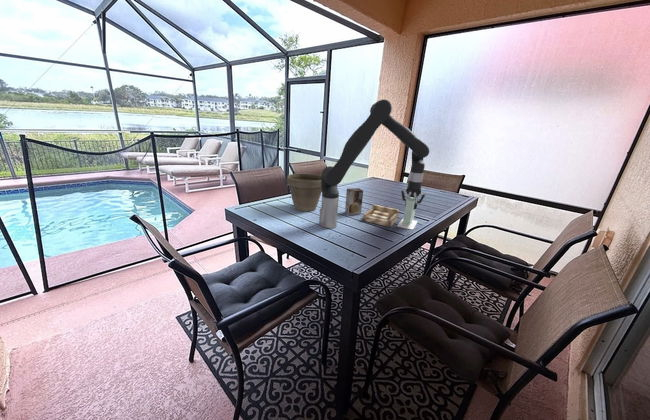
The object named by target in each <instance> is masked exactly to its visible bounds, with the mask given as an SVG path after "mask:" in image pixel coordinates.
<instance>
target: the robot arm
mask: <svg viewBox="0 0 650 420" xmlns="http://www.w3.org/2000/svg"><path fill="white" fill-rule="evenodd" d="M392 107H393V106H392V103H391V102H390V101H389V100H388V99H379V100H378V101H376V102H375V103H373V104H372V105H371V106H370V110H369V115H368V117H367V118H366V120H364V122H363V123H362V124H361V125H360V126H358V128H357V129H356V130H354V132H353V133H352V134H351V135H350V137H349V138H348V140H347V141H346V143H345V144H344V147H343V149H342V153H341V155H340V157H339V159H338V160H337V162H336V163H335V165H334V166H332V165H331V166H330V165H329V166H326V167H324V169H323V170H322V172H321V176H322V177H321V190H322V192H321V205H320V206H321V208H320V209H319V215H318V216H319V218H318V219H319V222H318V225H319V226H321V227H322V228H325V229H334V228H336V227H337V226H338V225H337V224H338V213H339V211H338V210H339V197H340V192H339V189H338V185H339V184H340V183H341V182H342V180H343V179H344V177H345V176H346V174H347V172H348V170H349V169H350V167H351V166H352V165H353V164H354V162H355V161H356V159H357V158H358V157H359V155H360V154H362V152H363V150H364V149H365V148H366V146H367V145H368V143H369V142H370V140H371V139H372V137H373V136H374V134H375V132H376V131H378V130H377V129H379V127H381V125H382V126H383V127H385V128H386V129H387V130H388V131H390V132H391V133H392V134H393V135H394V136H395V137H396V138H397V139H398V140H400V142H401V143H402V144H404V146H406V147H407V148H409V150H411V167H410V171H409V176H408V179H407V180H408V181H407V188H406V189H402V190H401V192H400V193H401V197H402V201H404V202H405V205H404V207H406V201H407V199H408V198H410V197H413V198H414V199H415V205H414V210H415V211H416V209H417V208H418V204H421V203H422V201H423V200H424V198H425V196H426V195H427V194H426V193H425V192H424V193H423V192H422V191H421V190H422V185H423V179H424V171H425V168H426V167H425V165H426V164H425V162H424V158H425V159H426V157H428V156H429V154H430V147H429V146H428V145H427V144H426V143H425V142H423V141H422V140H421V139H420V138H418V136H416V134H414V132H412V130H410V128H409V127H407V126H406V125H405V124H403V123H400V121H397V120H396V119H395V118H394V117H393V116H392V115H391V113H392V109H393V108H392ZM406 194H407V197H406ZM419 196H420V198H419ZM418 198H419V199H418Z"/></svg>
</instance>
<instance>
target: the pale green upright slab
mask: <svg viewBox="0 0 650 420" xmlns="http://www.w3.org/2000/svg"><path fill="white" fill-rule="evenodd" d="M406 199H407V198H406ZM414 205H415V199H414V198H413V197H410V198H408V199H407V201H406V207H405V206H404V207H405V208H404V214H403V218H402V219H403V223H405V224H410V223H411V222H412V220H415V219H414V218H415V215H416V214H415V213H416V209H415V210H414Z"/></svg>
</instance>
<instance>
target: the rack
mask: <svg viewBox="0 0 650 420" xmlns="http://www.w3.org/2000/svg"><path fill="white" fill-rule="evenodd" d="M371 207H372V208H370V209H369V210H367V211H366V212H365V213H364V214H363V219H362V221H364V222H369V223H372V224H377V225H381V226H384V227H388V228H392V226H393V225H394V224H395V222H397V220H398V218H399V213H400V209H398V208H394V207H388V206H387V207H386V206H383V205H378V204H374V203H373V204H372V205H371ZM374 211H380V212H384V213H388V214H389V218H388V221H387V220H383V219H379V218H374V217H371V216H372V214H373V212H374Z"/></svg>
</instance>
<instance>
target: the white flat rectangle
mask: <svg viewBox="0 0 650 420" xmlns="http://www.w3.org/2000/svg"><path fill="white" fill-rule="evenodd" d="M417 224H418V220H415V219H413V220H412V222H411V223H410V224H405V223H403V218H402V219H401V220H400V222H399V223H398V224H397V226H396V227H398V228H403V229H406V230H411V231H414V228H415V227H416V225H417Z"/></svg>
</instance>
